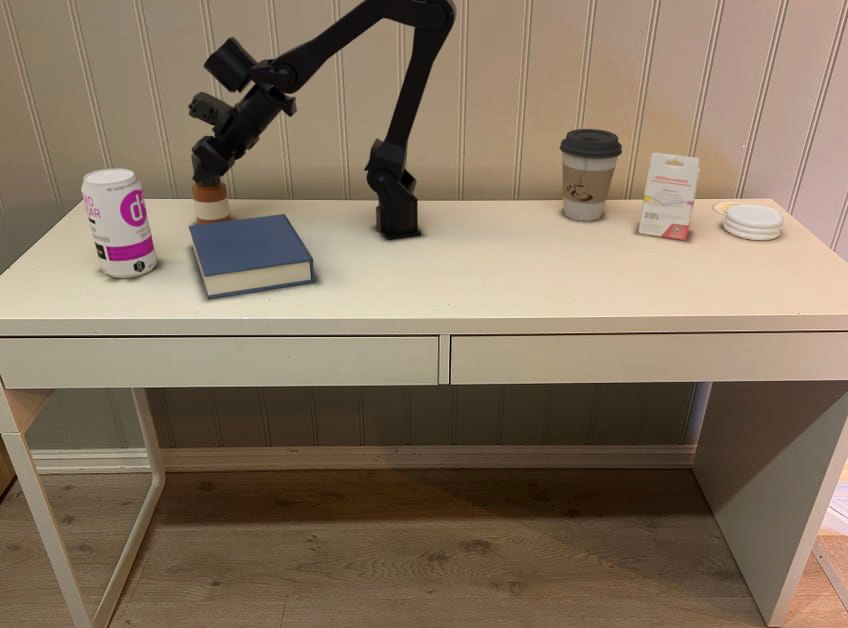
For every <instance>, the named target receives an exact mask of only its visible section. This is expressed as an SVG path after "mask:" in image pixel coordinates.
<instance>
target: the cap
mask: <svg viewBox="0 0 848 628" xmlns="http://www.w3.org/2000/svg"><path fill="white" fill-rule="evenodd" d="M190 159H191V164H192V171H193V174H194V173H195V171H196V168H197V166H198V164H199V162H200V159H199V158H198V157H197V156H196V155H195V154H194V153H192V154H191V155H190ZM194 182H195V181H194ZM220 182H222V180H221V176H218V175H216V176H213V177H211V178H208V179H206V180H203V181H201V182H198V183H196V182H195V183H194V184H196V185H200V186H211V185H216V184H218V183H220Z"/></svg>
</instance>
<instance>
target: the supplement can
mask: <svg viewBox="0 0 848 628" xmlns="http://www.w3.org/2000/svg"><path fill="white" fill-rule="evenodd" d="M82 180H83V182H82V185H81V188H80V189H81V194H82V199H83V203H84V206H85V210H86V213H87V217H88V223H89V225H90V229H91V233H92V237H93V241H94V245H95V249H96V253H97V257H98V261H99V265H100V269H101V271H102V272H103V273H105V274H107V275H108V276H110V277H113V278H115V279H128V278H129V279H132V278H137V277H140V276H142V275H146V274H148V273H150V272H151V271H152V270H153V269H154V267H155V266H156V265H157V263H158V259H157V254H156V250H155V246H154V245H155V244H154V241H153V235H152V230H151V226H150V221H149V217H148V212H147V207H146V201H145V198H144V197H145V196H144V193H143V192H144V191H143V187H142V183H141V181H140V179H139V178H138V177H137V176H136V175H135V172H134V171H133V170H130V169H127V168H105V169H99V170H95V171H91V172H89V173H87V174H85V175H84V176H83V179H82Z"/></svg>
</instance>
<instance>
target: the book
mask: <svg viewBox="0 0 848 628" xmlns="http://www.w3.org/2000/svg"><path fill="white" fill-rule="evenodd" d="M188 229H189V233H190V237H191V243H192V245H191V248H192V251H193V254H194V258H195V261H196V264H197V267H198V270H199V274H200V278H201V280H202V284H203V286H204V289H205V290H204V291H205V293H206V297H207V299H208V300H212V299H217V298H223V297H224V298H226V297H230V296H236V295H243V294H244V295H245V294H249V293H257V292H262V291H268V290H275V289H282V288H287V287H294V286H300V285H307V284H313V283H316V278H315V267H314V265H315V264H314V258H313V256H312V255H311V253H310V251H309V250H308V249H307V247H306V245H305V244H304V242H303V240H302V239H301V237H300V235H299V234H298V232H297V231H296V229H295V228H294V225H292V223H291V222H290V220H289V218H288V216H287V215H286V213H281V214H273V215H272V214H271V215H264V216H257V217H256V216H255V217H248V218H240V219H239V218H238V219H232V220H231V221H223V222H215V223H207V224H199V225H198V224H192V225H188Z"/></svg>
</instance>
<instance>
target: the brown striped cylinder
mask: <svg viewBox="0 0 848 628" xmlns="http://www.w3.org/2000/svg"><path fill="white" fill-rule="evenodd" d="M191 192H192V200H193V205H194V206H193V207H194V211H195V216H196V222H197V225H199V224H207V223H215V222H223V221H231V219H232V218H231V209H230V203H229V202H230V201H229V195H228V191H227V184H226V183H225V182H223V181H221V182H220V183H218V184H216V185H211V186H200V185H196V183H194V184H192V185H191Z"/></svg>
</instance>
